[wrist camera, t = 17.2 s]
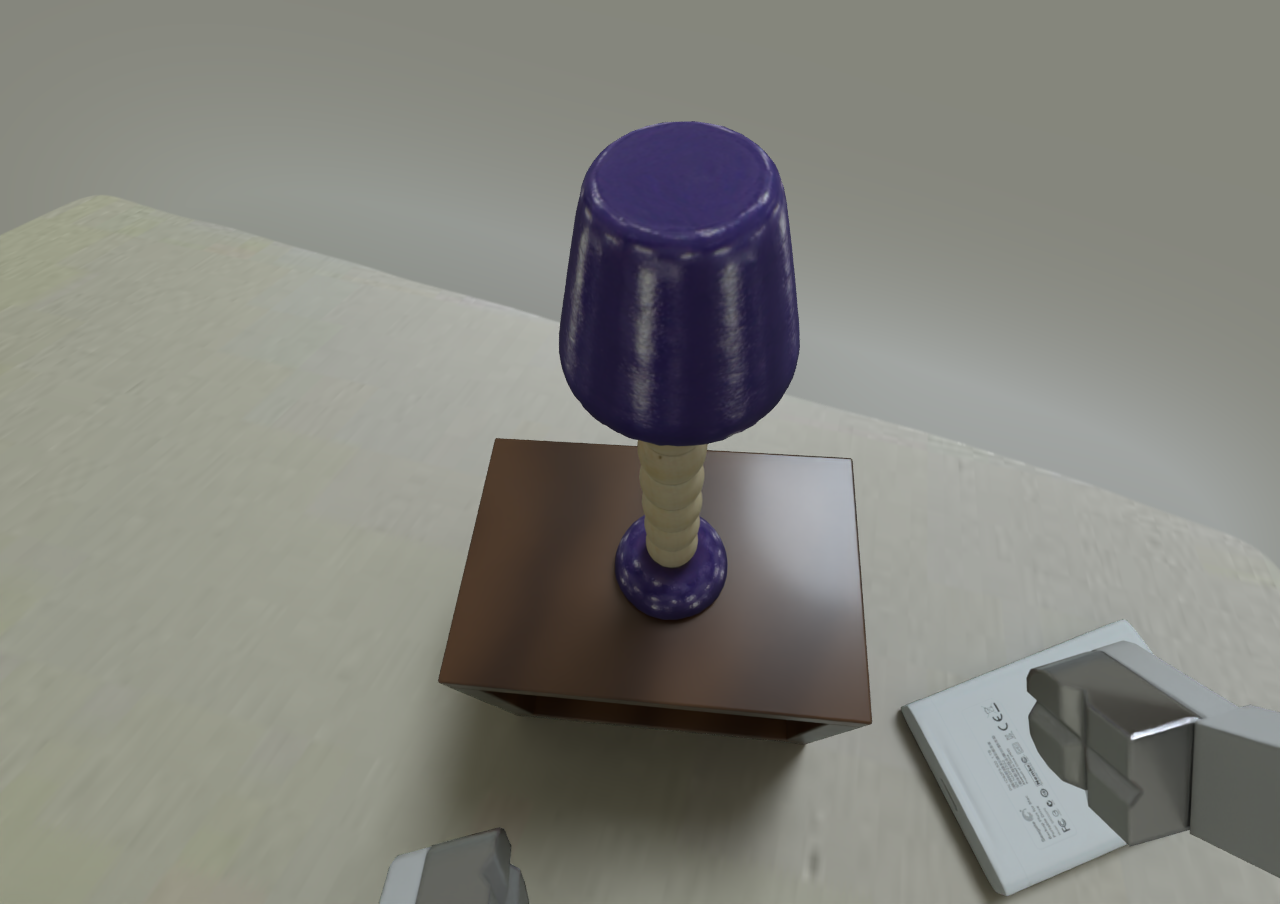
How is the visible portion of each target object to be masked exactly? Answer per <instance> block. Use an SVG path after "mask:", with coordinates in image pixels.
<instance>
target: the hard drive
mask: <svg viewBox="0 0 1280 904" xmlns="http://www.w3.org/2000/svg"><path fill="white" fill-rule="evenodd" d="M1122 640H1124V641H1128V642H1132V643H1135V644H1137V645H1139V646H1140V647H1142V648H1144V649H1145V650H1147V651H1148V652H1150V653H1152V652H1151V650H1150V649H1149V648H1148V646H1147V645H1146V643H1145V642H1144V641H1143V639H1142V638H1141V637H1140V635H1139V634H1138V633H1137V631H1136V630H1135V629H1134V628H1133V626H1132V625H1131V624H1130V623H1129V622H1128V621H1127V620H1123V619H1122V620H1119V621H1117V622H1113V623H1110V624H1108V625H1105V626H1103V627H1100V628H1098V629H1095V630H1093V631H1090V632H1088V633H1085V634H1083V635H1080V636H1078V637H1075V638H1073V639H1070V640H1068V641H1066V642H1063V643H1061V644H1058V645H1056V646H1053V647H1051V648H1048V649H1046V650H1043V651H1040V652H1038V653H1035V654H1033V655H1030V656H1028V657H1026V658H1023V659H1021V660H1018V661H1016V662H1013V663H1011V664H1008V665H1005V666H1003V667H1000V668H998V669H995V670H993V671H990V672H988V673H986V674H983V675H981V676H978V677H975V678H973V679H970V680H968V681H965V682H963V683H961V684H958V685H956V686H953V687H950V688H948V689H945V690H943V691H941V692H938V693H936V694H933V695H931V696H928V697H926V698H924V699H919V700H917V701H915V702H912V703H910V704H907V705H905V706H902V707H901V710H902V713H903V715H904V717H905V720H906V722H907V724H908V726H909V728H910V730H911V732H912V733H913V735H914V737H915V739H916V741H917V743H918V745H919V747H920V749H921V751H922V753H923V755H924V757H925V759H926V761H927V763H928V765H929V767H930V769H931V771H932V773H933V775H934V776H935V778H936V780H937V782H938V784H939V786H940V788H941V790H942V792H943V794H944V796H945V798H946V800H947V802H948V804H949V806H950V808H951V810H952V811H953V813H954V815H955V817H956V819H957V821H958V823H959V825H960V827H961V829H962V831H963V833H964V835H965V837H966V839H967V840H968V842H969V844H970V846H971V848H972V850H973V852H974V854H975V856H976V858H977V860H978V862H979V864H980V866H981V868H982V870H983V872H984V874H985V875H986V877H987V879H988V881H989V882H990V884H991V886H992V887H993V889H994V890H995V891H996V893H999V894H1002V895H1005V896H1009V895H1012V894H1014V893H1016V892H1018V891H1020V890H1023V889H1025V888H1027V887H1029V886H1032V885H1034V884H1037V883H1039V882H1041V881H1044V880H1046V879H1048V878H1051V877H1053V876H1055V875H1057V874H1060V873H1062V872H1064V871H1067V870H1069V869H1072V868H1074V867H1076V866H1078V865H1081V864H1083V863H1085V862H1087V861H1090V860H1092V859H1094V858H1097V857H1099V856H1101V855H1103V854H1106V853H1108V852H1110V851H1113V850H1115V849H1117V848H1119V847H1122V846H1124V845H1126V844H1127V843H1126V842H1125V841H1124V840H1123V839H1122V838H1121V837H1120V836H1119V835H1117V834H1116V833H1115V832H1114V831H1113V830H1112V829H1111V828H1110V827H1109V826H1108V825H1107V824H1106V823H1105V822H1104V821H1103V820H1102V819H1101V818H1100V817H1099V816H1098V815H1097V814H1096V813H1095V812H1094V811H1093V810H1092V809H1091V808H1090V807H1088V803H1087V798H1086V792H1085V790H1083V789H1081V788H1078V787H1076V786H1073V785H1071V784H1068V783H1066V782H1064V781H1062V780H1061V779H1060V778H1059V777H1058V776H1057V775H1056V774H1055V773H1054V772H1053V771H1052V770H1051V769H1050V768H1049V767H1048V766H1047V764H1046V763H1045V762H1044V760H1043V759H1042V757H1041V756H1040V755H1039V753H1038V751H1037V749H1036V747H1035V744H1034V742H1033V740H1032V738H1031V735H1030V730H1029V720H1028V715H1029V713H1030V711H1031V710H1032V708H1033V706H1034V705H1035V703H1036V701H1037V700H1036V699H1034V698H1033V697H1032V696H1031V695H1030V694H1029V693H1028V692H1027V681H1026V677H1027V675H1028V673H1029V671H1030V669H1032V668H1036V667H1039V666H1042V665H1045V664H1049V663H1052V662H1055V661H1058V660H1062V659H1065V658H1068V657H1071V656H1075V655H1078V654H1081V653H1084V652H1090V651H1092V650H1094V649H1097V648H1100V647H1103V646H1106V645H1110V644H1113V643H1116V642H1119V641H1122ZM1152 654H1153V653H1152Z"/></svg>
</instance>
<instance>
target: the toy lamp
mask: <svg viewBox="0 0 1280 904" xmlns="http://www.w3.org/2000/svg"><path fill="white" fill-rule="evenodd" d="M799 348H800V340H799V317H798V308H797V297H796V284H795V273H794V265H793V253H792V244H791V236H790V227H789V219H788V210H787V202H786V196H785V192H784V187H783V184H782V181H781V178H780V175H779V172H778V170H777V168H776V165H775V164H774V162H773V161H772V160H771V159H770V157H769V156H768V155H767V153H766V152H765V151H763V150H762V149H761V148H760V147H759V146H758V145H757V144H756V143H754V142H753V141H751V140H750V139H748V138H747V137H745V136H744V135H742V134H740V133H738V132H735V131H733V130H730V129H728V128H726V127H723V126H718V125H714V124H709V123H701V122H695V121H692V122H665V123H658V124H654V125H650V126H646V127H643V128H640V129H638V130H635V131H632V132H630V133H628V134H626V135H624V136H623V137H621V138H619V139H618V140H616V141H614V142H613V143H612V144H610V145H609V146H607V147H606V148H605V149H604V150H603V151H602V152H601V153H600V154H599V155H598V156H597V158H596V159H595V160H594V161H593V163H592V165H591V166H590V168H589V169H588V171H587V173H586V175H585V178H584V180H583V183H582V186H581V192H580V197H579V202H578V206H577V210H576V216H575V222H574V229H573V236H572V243H571V249H570V257H569V263H568V270H567V278H566V286H565V293H564V300H563V307H562V315H561V322H560V331H559V354H560V360H561V365H562V369H563V372H564V375H565V378H566V381H567V383H568V385H569V387H570V389H571V391H572V392H573V394H574V396H575V397H576V398H577V399H578V400H579V401H580V403H581V404H582V406H583V407H584V408H585V409H586V410H587V411H588V412H589V413H590V414H591V415H592V416H593V417H594V418H595V419H596V420H598V421H599V422H600V423H602V424H604V425H606V426H608V427H609V428H611V429H612V430H614V431H616V432H617V433H621V434H622V435H624V436H626V437H628V438H631V439H636V440H638V456H639V460H640V463H641V468H640V475H639V479H640V485H641V488H642V491H643V495H642V506H643V511H644V514H645V515H644V516H642V517H640V518H639V519H638V520H636V521H635V522H634V523H633V524H632V525H631V526H630V527H629V529H628V530H627V531H626V532H625V534H624V535H623V537H622V539H621V541H620V543H619V546H618V548H617V552H616V557H615V575H616V579H617V582H618V584H619V587H620V589H621V591H622V592H623V594H624V595H625V597H626V598H627V599H628V601H630V602H631V603H632V604H633V605H634V606H635V607H636V608H637V609H638V610H640V611H642V612H643V613H645V614H647V615H649V616H652V617H655V618H659V619H663V620H678V619H682V618H685V617H690V616H693V615H696V614H698V613H700V612H701V611H703V610H704V609H706V608H707V607H708V606H710V605H711V604H712V603H713V602H714V601H715V600H716V599H717V598H718V596H719V594H720V592H721V590H722V589H723V587H724V585H725V580H726V577H727V566H728V564H727V554H726V550H725V547H724V545H723V542H722V540H721V538H720V536H719V535H718V533H717V532H716V530H715V529H714V528H713V527H712V526H711V525H710V524H709V523H708V522H707V521H706V520H704V519H703V518H702V517H700V516H699V514H700V511H701V508H702V492H701V490H702V486H703V483H704V477H705V476H704V467H703V463H704V461H705V458H706V453H707V444H709V443H713V442H717V441H721V440H724V439H726V438H728V437H730V436H732V435H734V434H736V433H739V432H742V431H744V430H745V429H747V428H749V427H751V426H753V425H755V424H756V423H757V422H758V421H759V420H760V419H762V418H763V417H764V416H766V415H767V414H768V413H769V412H770V411H771V410H772V409H773V408H774V407H775V406H776V405H777V404H778V402H779V401H780V399H781V398H782V396H783V395H784V393H785V391H786V390H787V388H788V387H789V384H790V382H791V380H792V378H793V375H794V372H795V369H796V365H797V360H798V355H799Z"/></svg>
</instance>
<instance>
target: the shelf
mask: <svg viewBox="0 0 1280 904" xmlns="http://www.w3.org/2000/svg"><path fill="white" fill-rule="evenodd" d="M703 467H704V476H705V477H704V483H703V486H702V490H701V492H702V508H701V511H700V514H699V516H700V517H702V518H703V519H704V520H706V521H707V522H708V523H709V524H710V525H711V526H712V527H713V528H714V529H715V530H716V532H717V533H718V535H719V536H720V538H721V540H722V542H723V545H724V547H725V550H726V554H727V564H728V566H727V577H726V580H725V585H724V587H723V589H722V590H721V592H720V594H719V596H718V598H717V599H716V600H715V601H714V602H713V603H712V604H711V605H710V606H708V607H707V608H706V609H704V610H703V611H701V612H700V613H698V614H696V615H693V616H690V617H685V618H682V619H678V620H663V619H659V618H655V617H652V616H649V615H647V614H645V613H643V612H642V611H640V610H638V609H637V608H636V607H635V606H634V605H633V604H632V603H631V602H630V601H628V599H627V598H626V597H625V595H624V594H623V592H622V591H621V589H620V587H619V584H618V582H617V579H616V575H615V557H616V552H617V548H618V546H619V543H620V541H621V539H622V537H623V535H624V534H625V532H626V531H627V530H628V529H629V527H630V526H631V525H632V524H633V523H634V522H635V521H636V520H638V519H639V518H640V517H642V516H644V515H645V514H644V511H643V506H642V495H643V491H642V488H641V485H640V479H639V475H640V468H641V463H640V460H639V456H638V446H624V445H606V444H588V443H571V442H553V441H535V440H518V439H500V438H496V439H495V442H494V446H493V450H492V455H491V459H490V463H489V467H488V472H487V476H486V480H485V484H484V489H483V493H482V497H481V501H480V505H479V510H478V514H477V518H476V522H475V527H474V531H473V535H472V539H471V544H470V548H469V552H468V556H467V560H466V565H465V569H464V573H463V577H462V582H461V586H460V590H459V594H458V599H457V603H456V607H455V611H454V615H453V620H452V624H451V628H450V632H449V637H448V641H447V645H446V649H445V653H444V658H443V662H442V666H441V670H440V675H439V679H438V682H439V683H441V684H443V685H446V686H448V687H450V688H452V689H455V690H457V691H460V692H462V693H465V694H467V695H469V696H472V697H474V698H477V699H479V700H481V701H484V702H486V703H489V704H491V705H494V706H496V707H498V708H501V709H503V710H506V711H508V712H510V713H513V714H515V715H519V716H529V717H539V718H549V719H559V720H569V721H579V722H589V723H599V724H609V725H619V726H629V727H639V728H649V729H659V730H669V731H679V732H689V733H699V734H709V735H719V736H729V737H739V738H749V739H759V740H769V741H779V742H789V743H799V744H808V743H811V742H814V741H818V740H821V739H824V738H828V737H831V736H834V735H837V734H841V733H844V732H847V731H851V730H854V729H857V728H860V727H863V726H866V725H870V724H872V712H871V699H870V686H869V672H868V659H867V646H866V633H865V619H864V606H863V593H862V580H861V566H860V553H859V540H858V527H857V514H856V500H855V487H854V474H853V461H852V459H851V458H836V457H818V456H801V455H783V454H765V453H748V452H730V451H712V450H707V453H706V458H705V461H704V463H703Z"/></svg>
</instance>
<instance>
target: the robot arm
mask: <svg viewBox="0 0 1280 904" xmlns="http://www.w3.org/2000/svg"><path fill="white" fill-rule="evenodd" d="M1026 681H1027V692H1028V693H1029V694H1030V695H1031V696H1032V697H1033V698H1034V699H1036V700H1037V701H1036V703H1035V705H1034V706H1033V708H1032V710H1031V711H1030V713H1029V715H1028V720H1029V730H1030V735H1031V738H1032V740H1033V742H1034V744H1035V747H1036V749H1037V751H1038V753H1039V755H1040V756H1041V757H1042V759H1043V760H1044V762H1045V763H1046V764H1047V766H1048V767H1049V768H1050V769H1051V770H1052V771H1053V772H1054V773H1055V774H1056V775H1057V776H1058V777H1059V778H1060V779H1061V780H1062V781H1064V782H1066V783H1068V784H1071V785H1073V786H1076V787H1078V788H1081V789H1083V790H1085V792H1086V798H1087V803H1088V807H1090V808H1091V809H1092V810H1093V811H1094V812H1095V813H1096V814H1097V815H1098V816H1099V817H1100V818H1101V819H1102V820H1103V821H1104V822H1105V823H1106V824H1107V825H1108V826H1109V827H1110V828H1111V829H1112V830H1113V831H1114V832H1115V833H1116V834H1117V835H1119V836H1120V837H1121V838H1122V839H1123V840H1124V841H1125V842H1126V843H1127V844H1128V845H1129V846H1134V845H1137V844H1141V843H1144V842H1148V841H1151V840H1155V839H1159V838H1162V837H1166V836H1169V835H1173V834H1176V833H1180V832H1183V831H1187V830H1190V834H1192V835H1194V836H1196V837H1198V838H1200V839H1202V840H1204V841H1206V842H1208V843H1210V844H1212V845H1214V846H1216V847H1218V848H1220V849H1222V850H1224V851H1226V852H1228V853H1230V854H1232V855H1234V856H1236V857H1238V858H1240V859H1242V860H1244V861H1246V862H1248V863H1250V864H1253V865H1255V866H1257V867H1259V868H1261V869H1263V870H1265V871H1267V872H1269V873H1271V874H1273V875H1275V876H1277V877H1279V878H1280V712H1276V711H1273V710H1269V709H1265V708H1261V707H1257V706H1254V705H1247V706H1243V707H1238V706H1237V705H1235V704H1233V703H1232V702H1230V701H1228V700H1227V699H1225V698H1224V697H1222V696H1220V695H1219V694H1217V693H1215V692H1214V691H1212V690H1211V689H1209V688H1207V687H1206V686H1204V685H1202V684H1201V683H1199V682H1197V681H1196V680H1194V679H1193V678H1191V677H1189V676H1188V675H1186V674H1184V673H1183V672H1181V671H1179V670H1178V669H1176V668H1175V667H1173V666H1171V665H1170V664H1168V663H1166V662H1165V661H1163V660H1162V659H1160V658H1158V657H1157V656H1155V655H1153V654H1152V653H1150V652H1148V651H1147V650H1145V649H1144V648H1142V647H1140V646H1139V645H1137V644H1135V643H1132V642H1128V641H1124V640H1122V641H1119V642H1116V643H1113V644H1110V645H1106V646H1103V647H1100V648H1097V649H1094V650H1092V651H1090V652H1084V653H1081V654H1078V655H1075V656H1071V657H1068V658H1065V659H1062V660H1058V661H1055V662H1052V663H1049V664H1045V665H1042V666H1039V667H1036V668H1032V669H1030V671H1029V673H1028V675H1027V677H1026ZM510 859H511V844H510V841H509V839H508V837H507V834H506V832H505V830H504V829H503V828H500V827H499V828H495V829H491V830H488V831H484V832H480V833H476V834H473V835H469V836H465V837H462V838H458V839H454V840H450V841H447V842H443V843H439V844H435V845H432V846H431V847H428V848H424V849H420V850H416V851H413V852H409V853H405V854H401V855H397V856H396V858H395V859H394V861H393V862H392V863H391V865H390V867H389V869H388V873H387V876H386V880H385V883H384V887H383V890H382V894H381V897H380V901H379V904H529V898H528V894H527V890H526V885H525V881H524V879H523V876H522V873H521V870H520V869H519V868H517V867H515V866H514V865H512V864H510Z"/></svg>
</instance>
